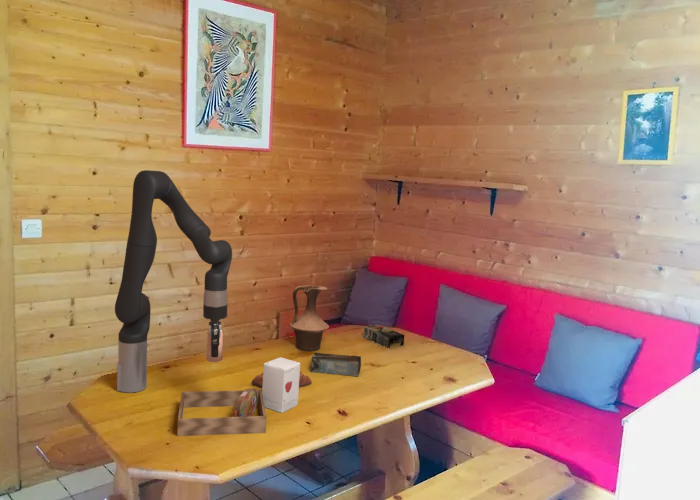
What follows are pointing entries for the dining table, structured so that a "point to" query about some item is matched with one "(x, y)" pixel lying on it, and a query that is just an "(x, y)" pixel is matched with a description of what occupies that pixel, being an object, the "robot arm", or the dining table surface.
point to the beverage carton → (336, 364)
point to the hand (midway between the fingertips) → (214, 353)
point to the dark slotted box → (382, 335)
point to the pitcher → (308, 320)
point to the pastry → (302, 380)
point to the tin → (245, 404)
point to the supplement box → (281, 384)
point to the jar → (220, 348)
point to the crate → (220, 423)
